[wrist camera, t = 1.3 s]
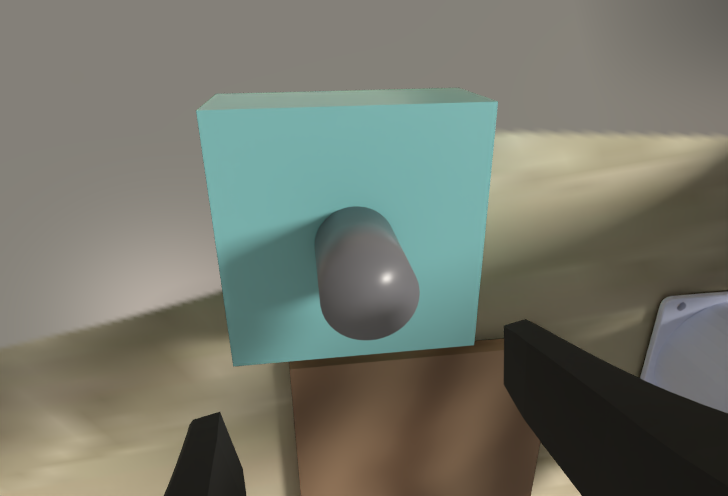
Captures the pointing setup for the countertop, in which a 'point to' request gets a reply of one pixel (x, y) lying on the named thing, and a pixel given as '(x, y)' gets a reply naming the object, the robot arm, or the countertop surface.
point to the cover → (348, 218)
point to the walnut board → (411, 425)
